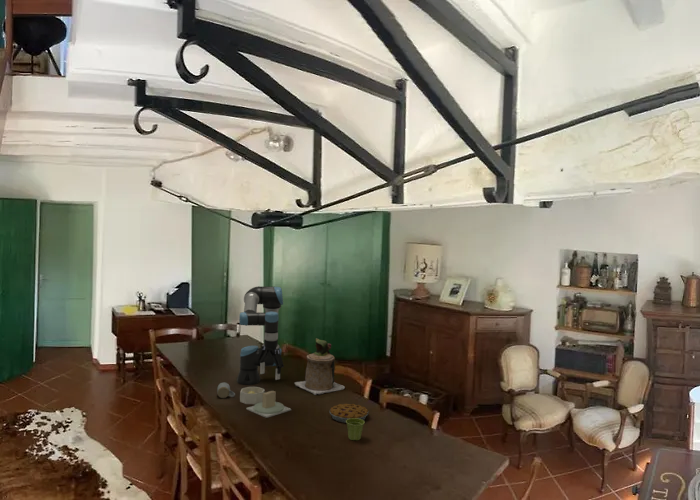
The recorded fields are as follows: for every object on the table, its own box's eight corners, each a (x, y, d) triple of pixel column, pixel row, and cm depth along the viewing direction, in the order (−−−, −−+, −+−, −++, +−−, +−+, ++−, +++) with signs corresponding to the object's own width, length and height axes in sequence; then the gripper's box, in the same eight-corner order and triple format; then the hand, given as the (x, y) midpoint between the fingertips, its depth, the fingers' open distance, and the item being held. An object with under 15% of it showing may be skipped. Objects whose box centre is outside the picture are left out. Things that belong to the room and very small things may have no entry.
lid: (270, 401, 322) (271, 386, 322) (289, 408, 311) (290, 392, 311) (247, 407, 310) (247, 392, 309) (266, 416, 298) (267, 399, 298)
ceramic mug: (216, 399, 325) (217, 386, 325) (217, 394, 333) (217, 382, 333) (235, 398, 327) (235, 386, 327) (234, 394, 335) (235, 382, 335)
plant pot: (352, 433, 281) (352, 416, 281) (367, 437, 276) (368, 421, 276) (341, 438, 274) (342, 421, 273) (357, 443, 268) (357, 426, 268)
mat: (270, 402, 323) (270, 400, 323) (291, 410, 311) (291, 408, 311) (246, 409, 310) (246, 407, 310) (266, 417, 298) (266, 416, 298)
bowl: (254, 394, 335) (254, 385, 335) (268, 400, 326) (268, 390, 326) (235, 399, 325) (236, 390, 324) (250, 405, 316) (250, 395, 315)
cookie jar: (316, 396, 338) (318, 345, 336) (293, 386, 356) (294, 337, 354) (346, 389, 354) (348, 340, 352) (322, 379, 373) (324, 333, 371)
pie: (373, 413, 311) (373, 405, 311) (361, 427, 291) (361, 418, 290) (337, 408, 318) (337, 399, 318) (323, 420, 298) (323, 411, 297)
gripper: (252, 336, 314) (250, 372, 315) (280, 344, 297) (279, 383, 298) (262, 334, 319) (261, 370, 321) (290, 342, 303) (289, 380, 304)
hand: (269, 376), depth 310 cm, fingers open, 13 cm apart
